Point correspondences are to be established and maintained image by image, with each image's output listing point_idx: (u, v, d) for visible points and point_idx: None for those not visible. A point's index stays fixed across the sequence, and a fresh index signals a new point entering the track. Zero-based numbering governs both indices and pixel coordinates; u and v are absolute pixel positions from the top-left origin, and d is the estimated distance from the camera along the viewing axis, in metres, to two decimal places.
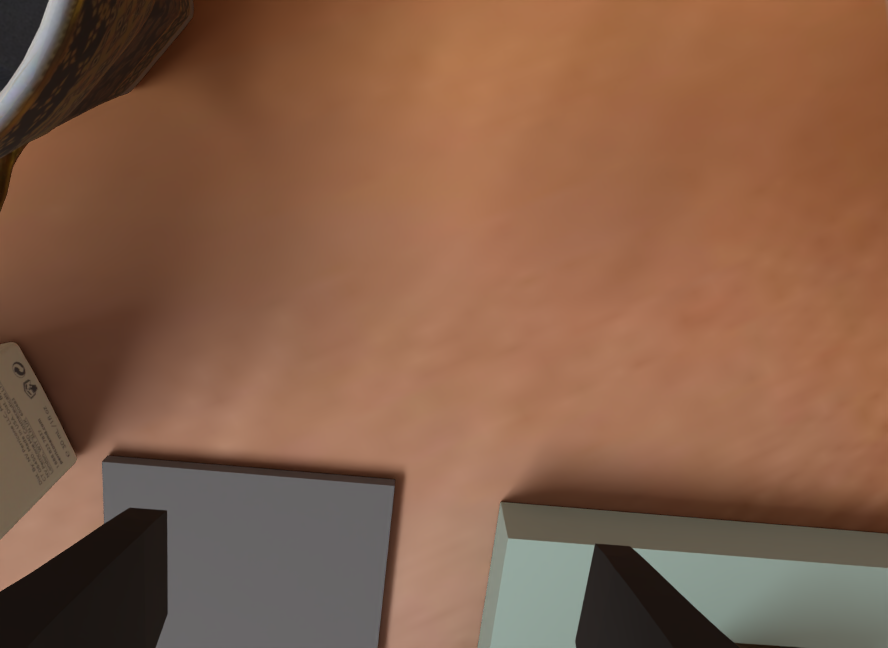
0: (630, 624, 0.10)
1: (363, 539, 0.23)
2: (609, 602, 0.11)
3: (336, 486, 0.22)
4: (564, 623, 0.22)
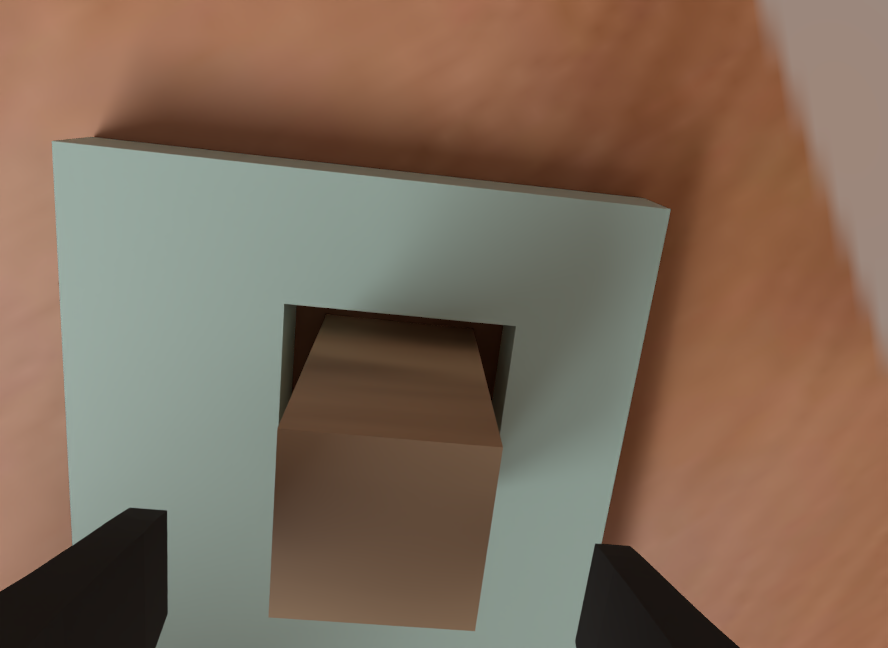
0: (630, 624, 0.10)
1: None
2: (609, 602, 0.11)
3: None
4: (156, 279, 0.16)
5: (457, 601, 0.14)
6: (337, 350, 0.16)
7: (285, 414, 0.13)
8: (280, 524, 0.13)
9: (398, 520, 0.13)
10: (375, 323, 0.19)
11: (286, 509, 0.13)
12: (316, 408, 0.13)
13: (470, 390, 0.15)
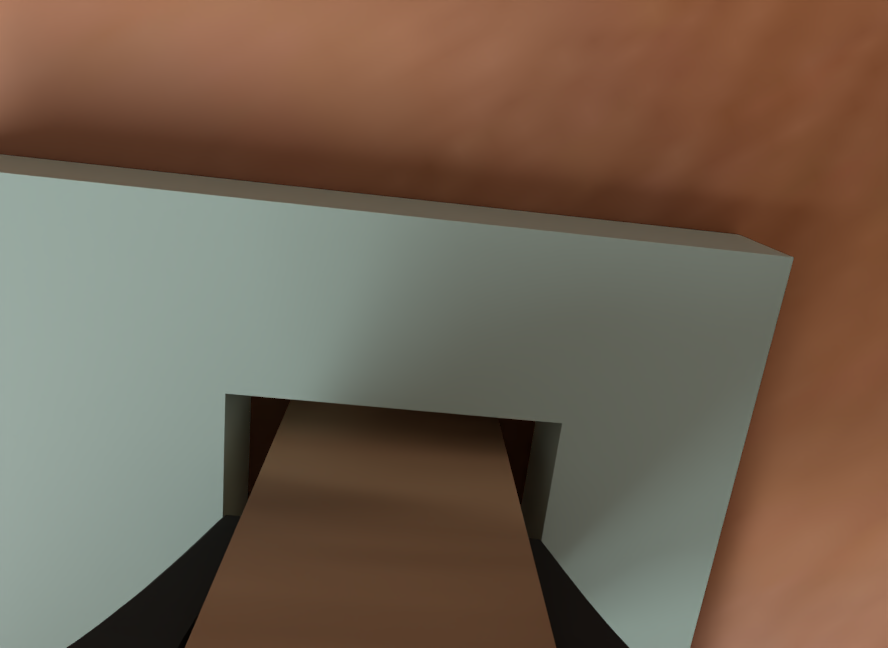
0: None
1: None
2: None
3: None
4: (36, 361, 0.11)
5: None
6: (301, 466, 0.11)
7: (196, 631, 0.08)
8: None
9: None
10: (361, 408, 0.13)
11: None
12: (252, 610, 0.08)
13: (502, 544, 0.10)
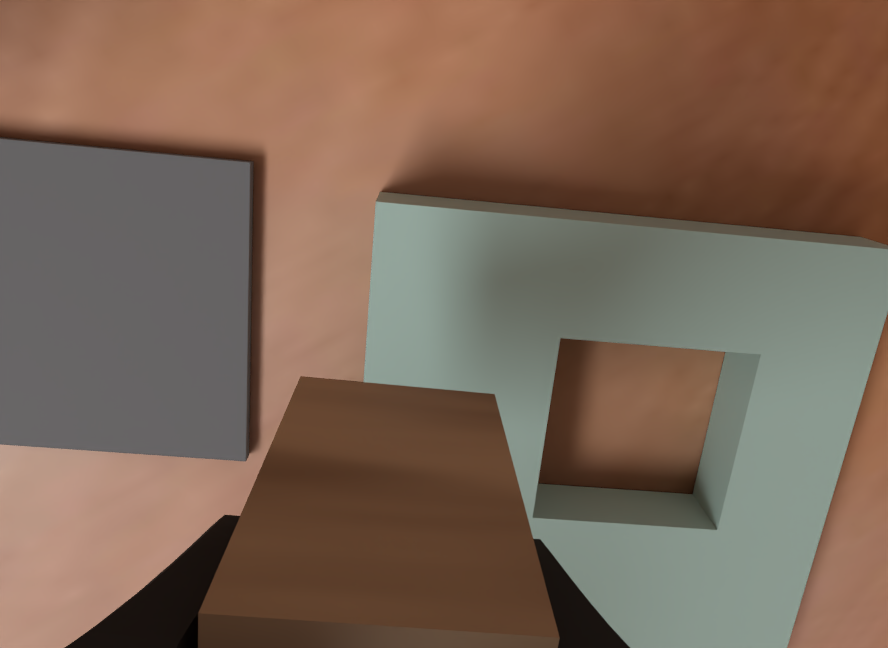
0: None
1: (218, 234, 0.19)
2: None
3: (181, 162, 0.19)
4: (451, 319, 0.19)
5: None
6: (310, 440, 0.12)
7: (217, 580, 0.08)
8: None
9: None
10: (365, 389, 0.14)
11: None
12: (267, 563, 0.09)
13: (499, 509, 0.10)
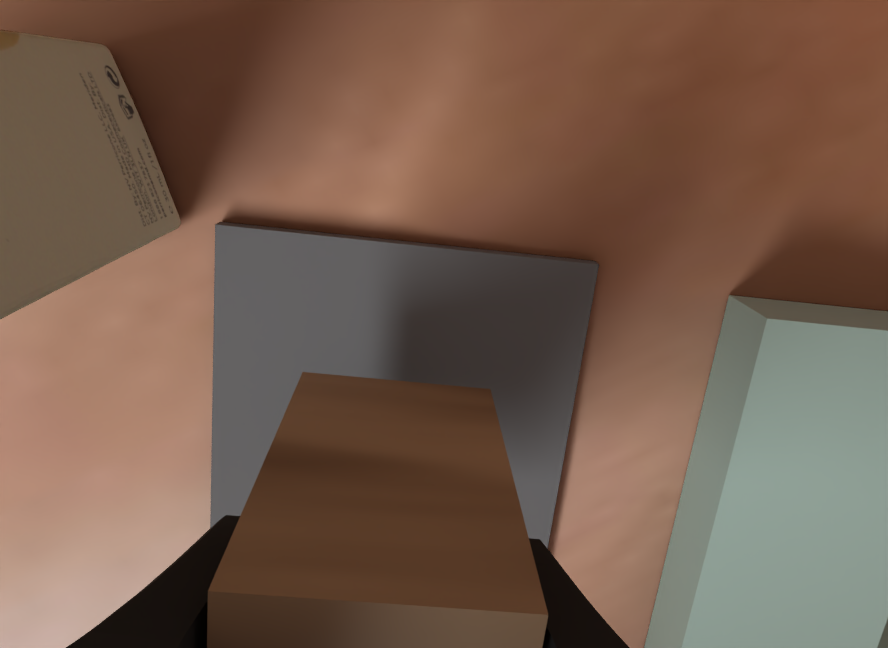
0: None
1: (551, 341, 0.17)
2: None
3: (522, 264, 0.17)
4: (827, 445, 0.17)
5: None
6: (312, 432, 0.12)
7: (224, 561, 0.09)
8: None
9: None
10: (365, 384, 0.15)
11: None
12: (273, 545, 0.09)
13: (494, 497, 0.11)
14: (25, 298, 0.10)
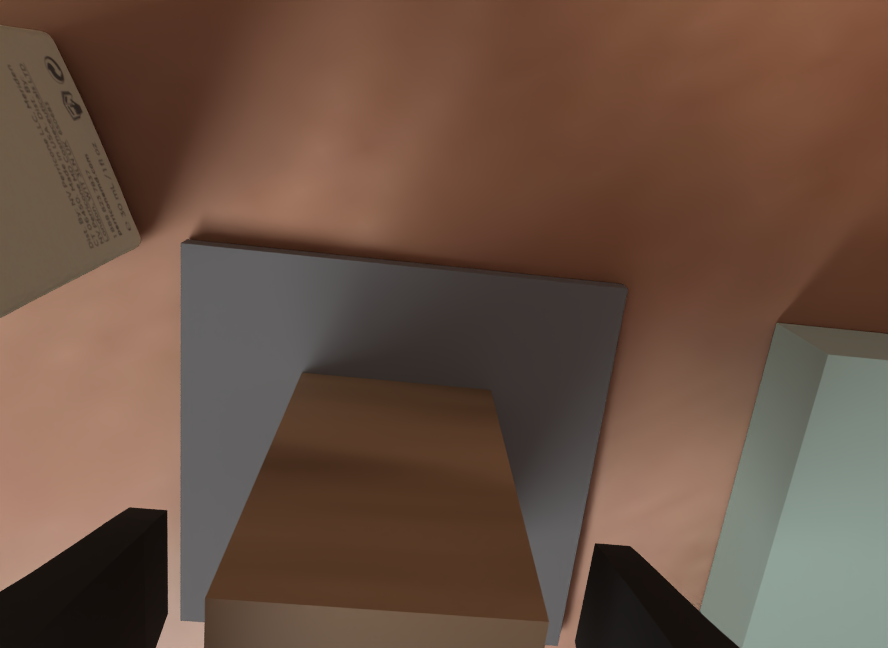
0: (630, 624, 0.10)
1: (571, 376, 0.15)
2: (609, 602, 0.11)
3: (539, 288, 0.14)
4: None
5: None
6: (311, 434, 0.12)
7: (222, 567, 0.09)
8: None
9: None
10: (364, 385, 0.14)
11: None
12: (270, 551, 0.09)
13: (493, 501, 0.11)
14: None
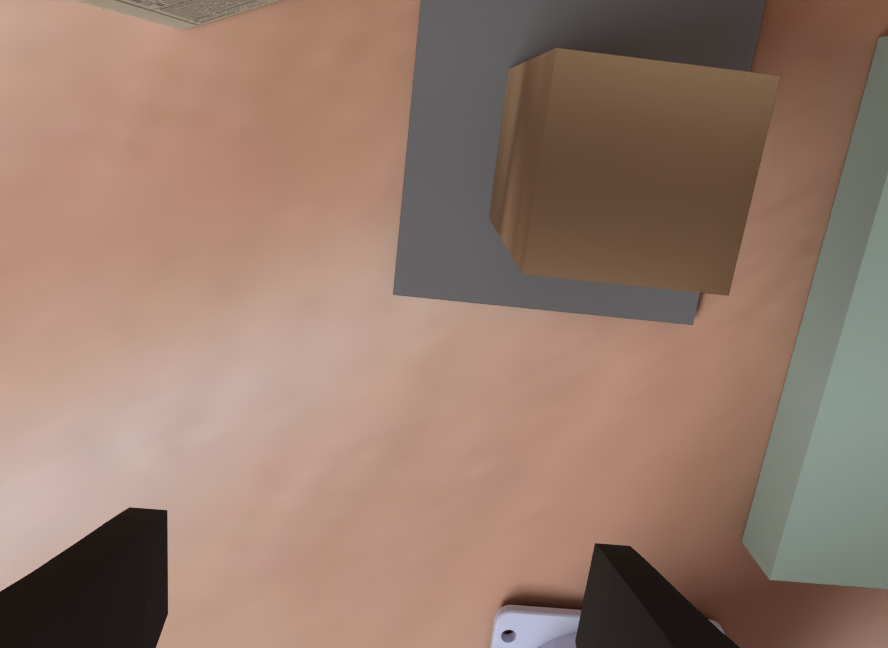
0: (630, 624, 0.10)
1: None
2: (609, 602, 0.11)
3: None
4: None
5: (714, 259, 0.13)
6: None
7: (553, 50, 0.13)
8: (546, 164, 0.13)
9: (665, 161, 0.13)
10: None
11: (555, 145, 0.13)
12: None
13: None
14: None
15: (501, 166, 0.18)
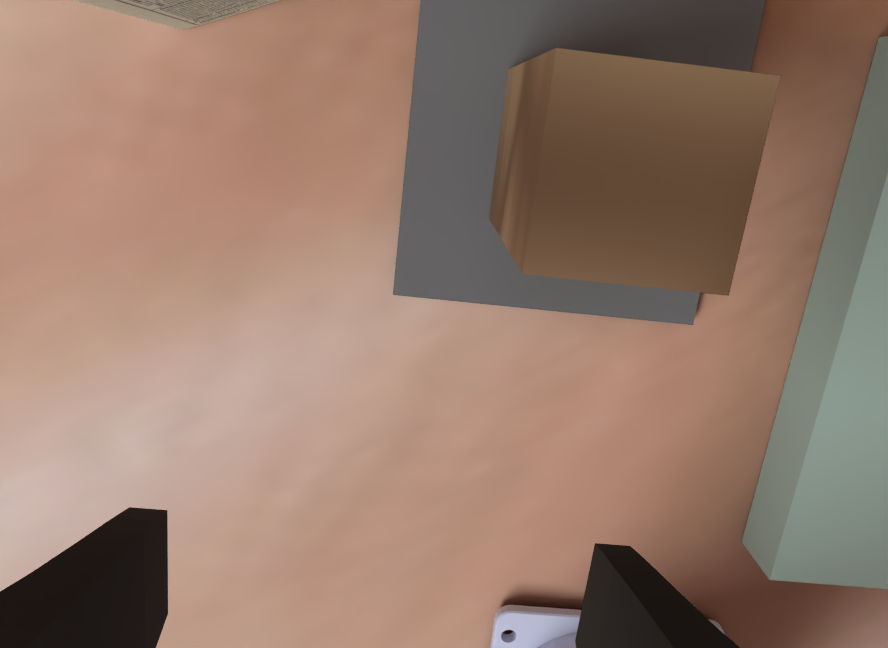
0: (630, 624, 0.10)
1: None
2: (609, 602, 0.11)
3: None
4: None
5: (714, 259, 0.13)
6: None
7: (553, 50, 0.13)
8: (546, 164, 0.13)
9: (665, 161, 0.13)
10: None
11: (555, 145, 0.13)
12: None
13: None
14: None
15: (501, 166, 0.18)
